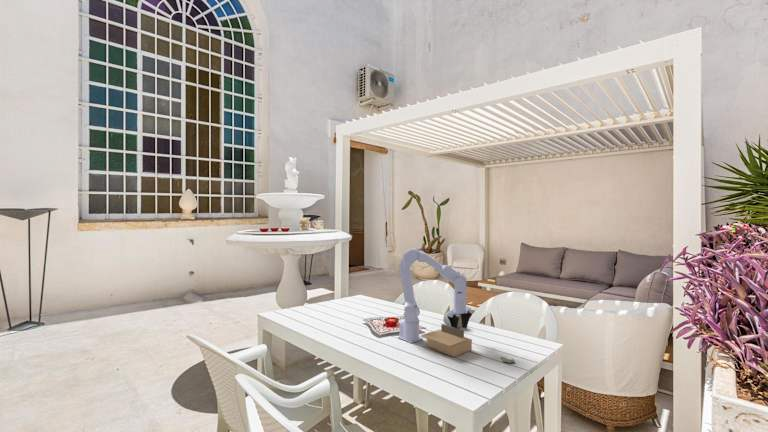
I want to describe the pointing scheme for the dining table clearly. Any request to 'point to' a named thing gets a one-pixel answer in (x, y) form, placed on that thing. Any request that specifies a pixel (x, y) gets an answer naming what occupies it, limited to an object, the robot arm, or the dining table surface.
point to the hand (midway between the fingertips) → (459, 329)
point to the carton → (453, 350)
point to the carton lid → (446, 335)
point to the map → (507, 360)
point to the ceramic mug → (449, 321)
